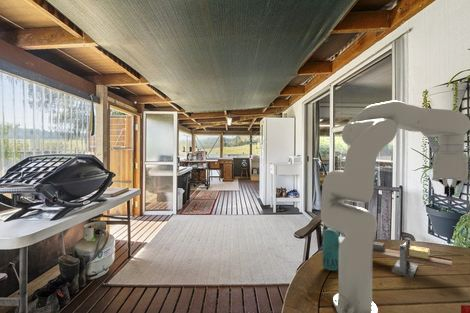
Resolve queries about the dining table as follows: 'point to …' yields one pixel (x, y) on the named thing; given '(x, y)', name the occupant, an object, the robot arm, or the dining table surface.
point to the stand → (404, 262)
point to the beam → (433, 261)
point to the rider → (419, 252)
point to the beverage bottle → (330, 249)
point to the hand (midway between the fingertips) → (449, 196)
